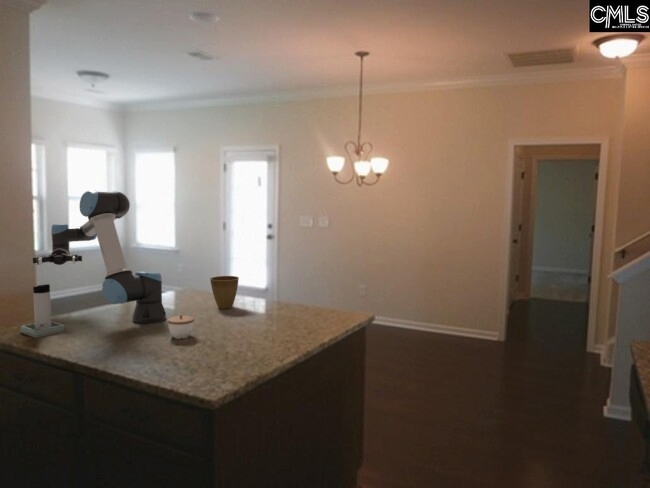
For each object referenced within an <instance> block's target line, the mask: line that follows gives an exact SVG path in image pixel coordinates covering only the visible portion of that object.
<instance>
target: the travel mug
mask: <svg viewBox="0 0 650 488" xmlns="http://www.w3.org/2000/svg"><path fill="white" fill-rule="evenodd" d="M50 287H51V285H50V283H46V284H41V285H40V284H39V285H37V286H33V287H32V288H33V289H32V290H33V292H32V294H33V295H32V297H33V316H34V317H33V318H34V319H33V321H34V323H35V330H40V329H45V328H50V327H52V326H51V321H52V309H51V308H52V305H51V290H50V289H51V288H50Z"/></svg>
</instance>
